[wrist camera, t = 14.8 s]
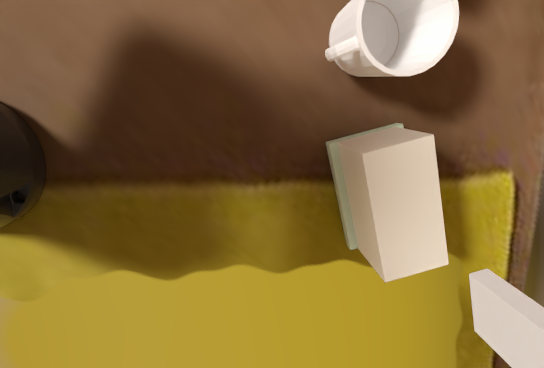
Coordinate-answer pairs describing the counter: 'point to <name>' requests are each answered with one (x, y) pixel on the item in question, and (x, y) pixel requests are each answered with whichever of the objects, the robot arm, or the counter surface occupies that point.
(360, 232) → the white rectangular block
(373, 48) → the mug
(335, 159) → the header block
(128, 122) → the counter surface
